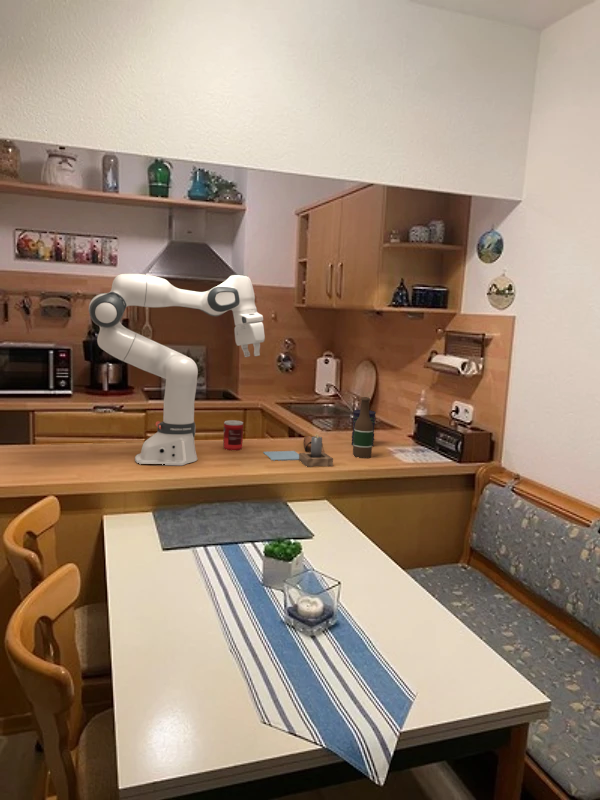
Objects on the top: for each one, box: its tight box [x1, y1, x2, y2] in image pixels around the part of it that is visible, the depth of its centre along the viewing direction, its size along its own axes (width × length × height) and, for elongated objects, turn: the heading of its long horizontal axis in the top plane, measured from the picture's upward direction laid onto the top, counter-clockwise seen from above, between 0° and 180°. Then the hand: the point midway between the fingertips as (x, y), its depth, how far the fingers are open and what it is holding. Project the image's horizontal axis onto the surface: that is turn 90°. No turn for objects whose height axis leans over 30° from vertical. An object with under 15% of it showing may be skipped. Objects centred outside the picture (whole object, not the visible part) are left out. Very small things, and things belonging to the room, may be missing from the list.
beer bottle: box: [352, 396, 373, 459], centre depth 245 cm, size 8×8×24 cm
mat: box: [262, 450, 299, 462], centre depth 240 cm, size 13×13×1 cm
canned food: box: [222, 419, 244, 451], centre depth 249 cm, size 8×8×11 cm
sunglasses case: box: [303, 435, 325, 453], centre depth 258 cm, size 18×7×7 cm
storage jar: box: [351, 409, 377, 447], centre depth 268 cm, size 10×10×15 cm
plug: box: [310, 433, 323, 458], centre depth 231 cm, size 4×4×11 cm
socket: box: [298, 451, 334, 468], centre depth 231 cm, size 10×10×3 cm
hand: (252, 356), depth 226 cm, fingers open, 8 cm apart
